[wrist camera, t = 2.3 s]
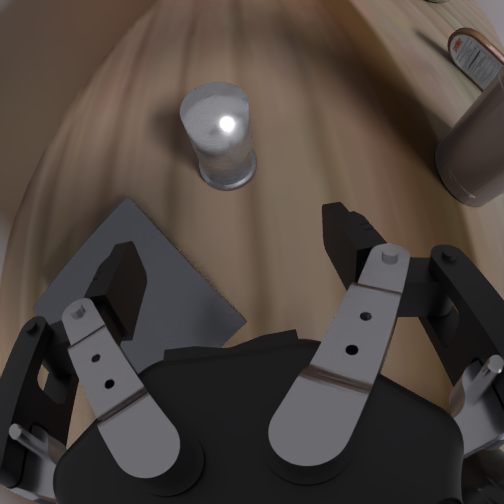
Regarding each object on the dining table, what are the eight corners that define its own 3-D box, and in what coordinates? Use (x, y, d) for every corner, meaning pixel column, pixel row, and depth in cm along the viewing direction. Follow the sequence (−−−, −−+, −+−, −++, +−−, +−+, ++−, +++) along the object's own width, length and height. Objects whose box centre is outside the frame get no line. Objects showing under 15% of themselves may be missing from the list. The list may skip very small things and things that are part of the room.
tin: (510, 113, 30) (536, 86, 22) (505, 120, 30) (533, 92, 21) (444, 50, 33) (462, 17, 24) (438, 54, 32) (456, 19, 24)
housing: (229, 132, 30) (216, 70, 20) (268, 164, 29) (268, 103, 19) (189, 167, 29) (161, 111, 20) (227, 202, 28) (209, 150, 19)
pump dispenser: (444, 510, 19) (503, 565, 4) (393, 496, 21) (453, 573, 6) (493, 445, 21) (570, 479, 6) (450, 422, 22) (544, 467, 7)
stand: (148, 214, 28) (128, 196, 23) (249, 320, 26) (246, 321, 21) (62, 310, 27) (33, 307, 22) (146, 416, 24) (125, 433, 19)
